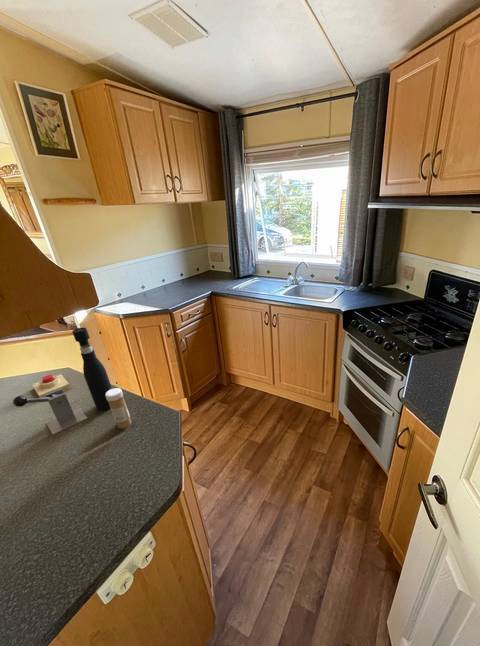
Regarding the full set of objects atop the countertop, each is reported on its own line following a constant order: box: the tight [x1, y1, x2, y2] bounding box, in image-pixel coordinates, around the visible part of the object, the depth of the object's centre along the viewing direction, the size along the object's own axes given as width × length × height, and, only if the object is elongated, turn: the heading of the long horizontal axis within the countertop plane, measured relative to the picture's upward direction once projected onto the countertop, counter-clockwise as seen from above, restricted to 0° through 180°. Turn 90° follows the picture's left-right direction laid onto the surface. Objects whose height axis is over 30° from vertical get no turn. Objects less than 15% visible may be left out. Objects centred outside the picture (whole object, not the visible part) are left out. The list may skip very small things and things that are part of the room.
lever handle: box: [12, 394, 60, 408], centre depth 88 cm, size 12×3×3 cm, turn 137°
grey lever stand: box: [45, 388, 88, 436], centre depth 94 cm, size 10×8×12 cm
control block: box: [31, 373, 71, 398], centre depth 115 cm, size 12×10×4 cm
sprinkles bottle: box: [105, 387, 133, 429], centre depth 91 cm, size 5×5×13 cm
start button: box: [41, 374, 54, 383], centre depth 114 cm, size 4×4×2 cm
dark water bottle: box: [71, 327, 113, 412], centre depth 96 cm, size 6×6×30 cm
